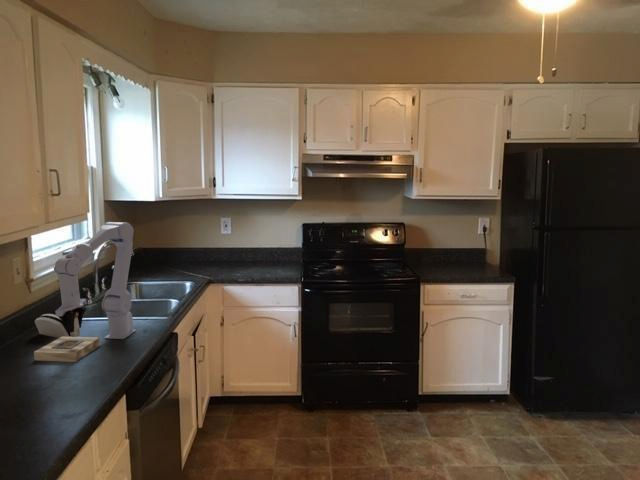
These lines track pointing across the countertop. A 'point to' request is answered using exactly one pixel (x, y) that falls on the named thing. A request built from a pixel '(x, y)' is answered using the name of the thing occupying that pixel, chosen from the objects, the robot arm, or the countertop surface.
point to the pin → (76, 325)
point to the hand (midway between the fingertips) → (74, 330)
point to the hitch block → (67, 349)
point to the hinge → (51, 326)
